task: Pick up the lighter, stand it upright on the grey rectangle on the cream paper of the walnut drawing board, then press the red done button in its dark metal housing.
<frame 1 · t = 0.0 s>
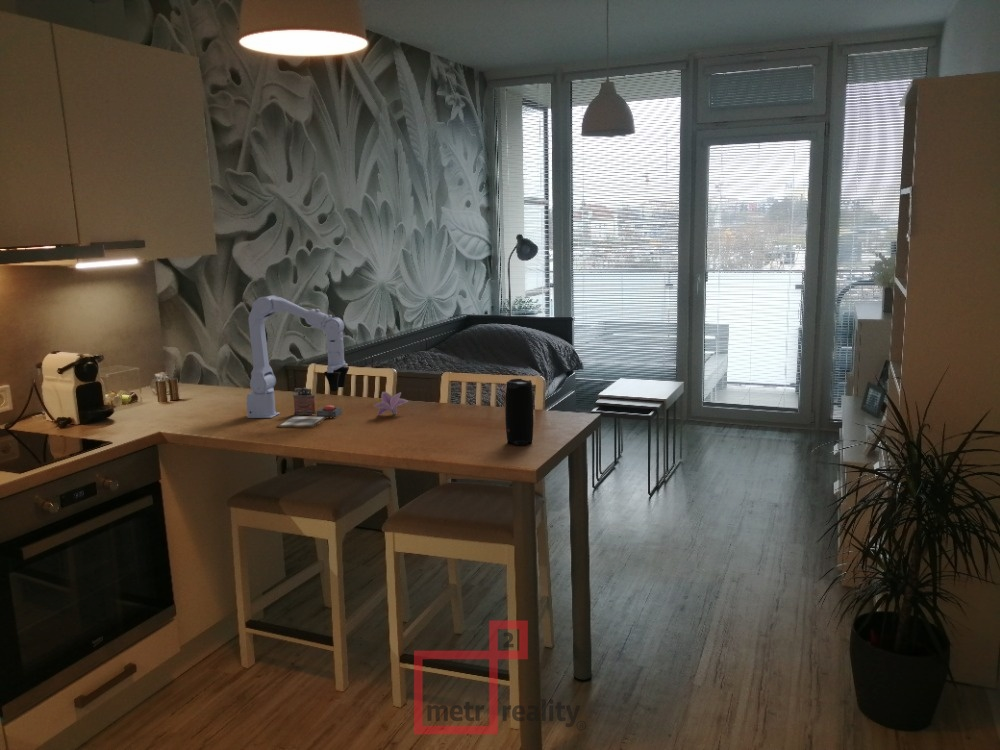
hand: (337, 389, 283), 10 cm above the worktop, tool pointing down, fingers open, 7 cm apart
button housing: (329, 415, 286), on the worktop
done button: (329, 408, 286), point 3 cm above the worktop, slide at 0.0 cm
lighter: (305, 415, 290), on the worktop
portable speaker: (519, 443, 243), on the worktop
lily: (391, 417, 284), on the worktop
drawing board: (302, 422, 276), on the worktop
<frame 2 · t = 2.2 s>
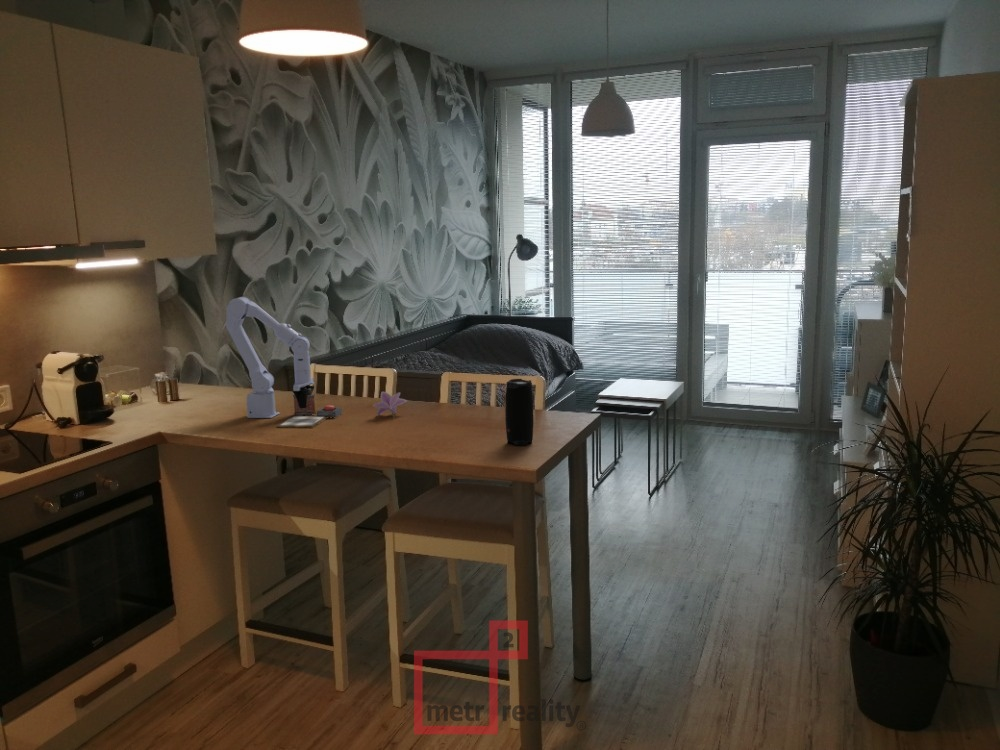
hand: (304, 406, 289), 3 cm above the worktop, tool pointing down, fingers closed on lighter, 3 cm apart
lighter: (305, 415, 290), on the worktop, touching gripper
when the fingers open (10 cm above the worktop, at t = 3.8 s): lighter drops 2 cm, resting on drawing board.
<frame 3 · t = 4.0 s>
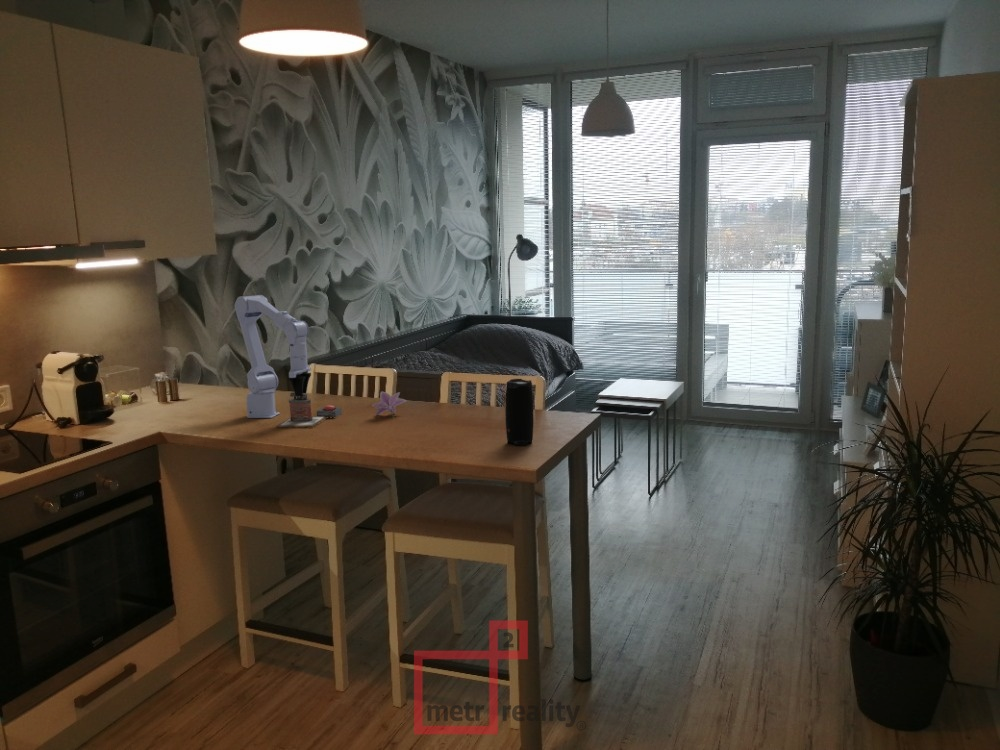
hand: (301, 394, 275), 10 cm above the worktop, tool pointing down, fingers open, 3 cm apart
lighter: (301, 420, 276), point 1 cm above the worktop, touching drawing board, gripper
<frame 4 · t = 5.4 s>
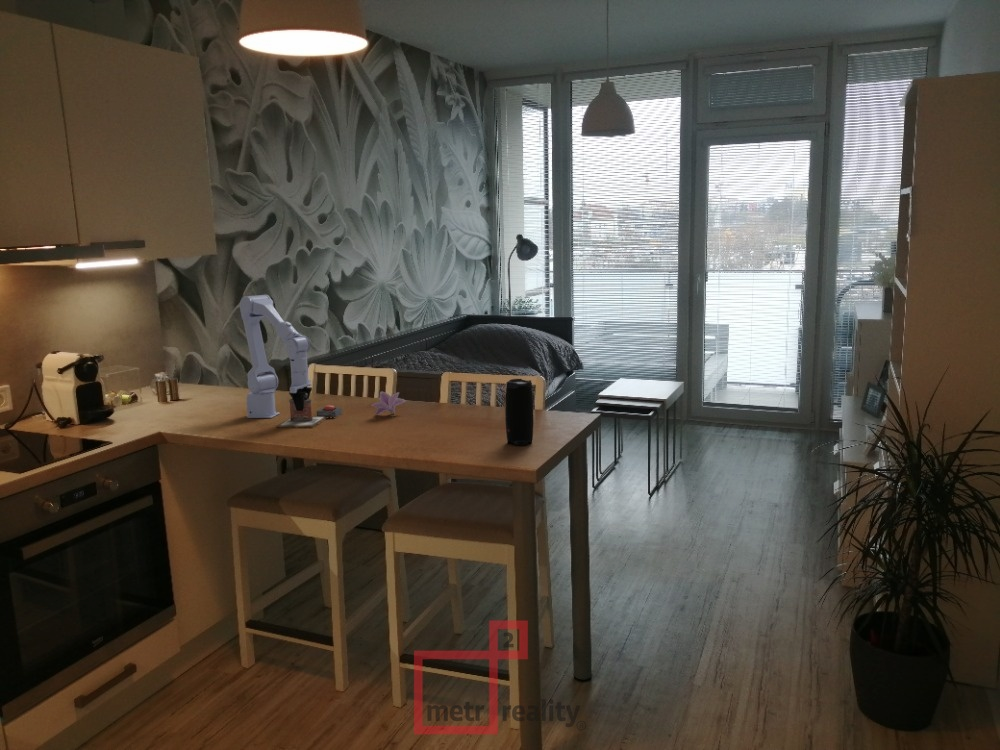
hand: (301, 409, 276), 5 cm above the worktop, tool pointing down, fingers closed on lighter, 3 cm apart
lighter: (301, 420, 276), point 1 cm above the worktop, touching drawing board, gripper
everything else where it was.
when the fingers open (5 cm above the worktop, at t = 5.7 s): lighter stays where it is, resting on drawing board.
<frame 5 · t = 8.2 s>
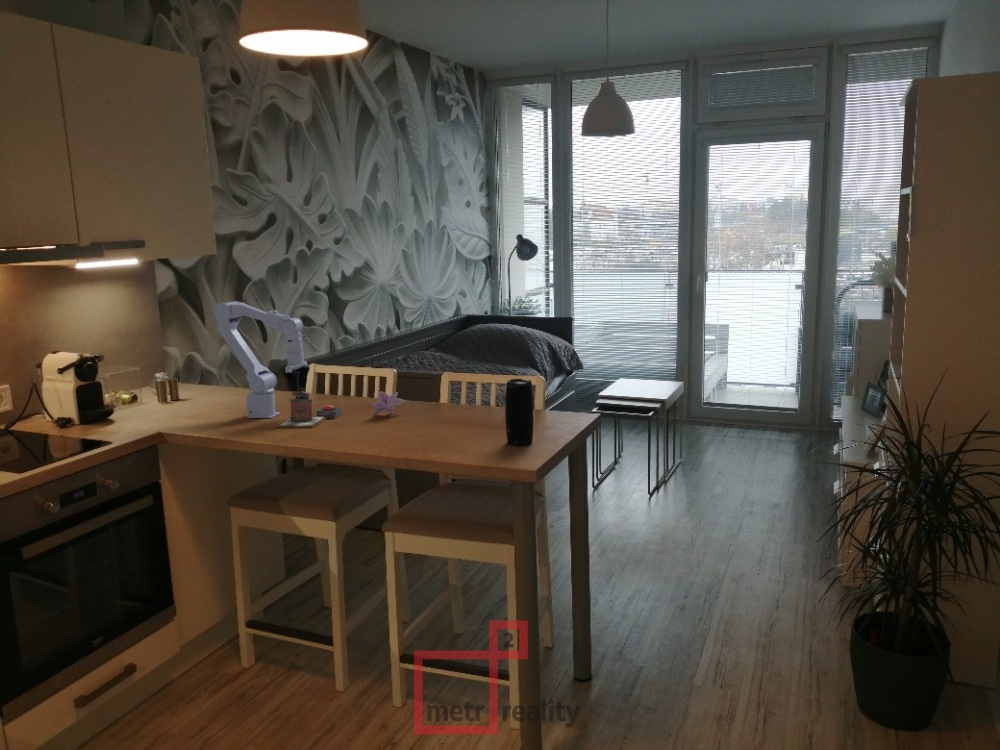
hand: (298, 389, 283), 10 cm above the worktop, tool pointing down, fingers open, 7 cm apart
lighter: (301, 420, 276), point 1 cm above the worktop, touching drawing board
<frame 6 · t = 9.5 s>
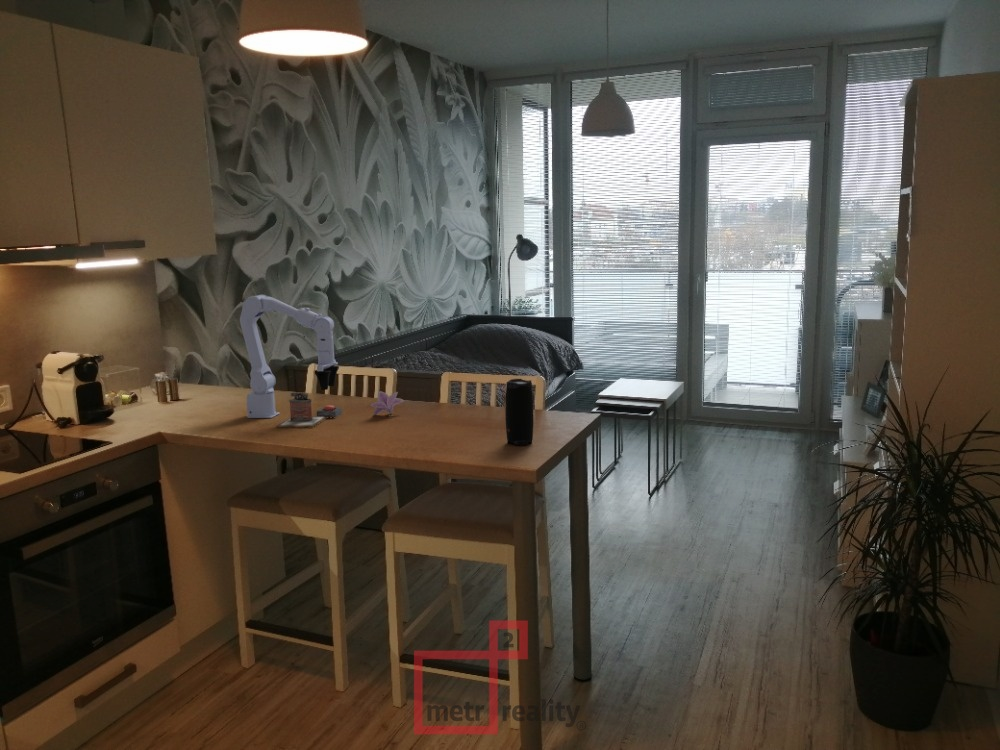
hand: (327, 387, 285), 10 cm above the worktop, tool pointing down, fingers open, 6 cm apart
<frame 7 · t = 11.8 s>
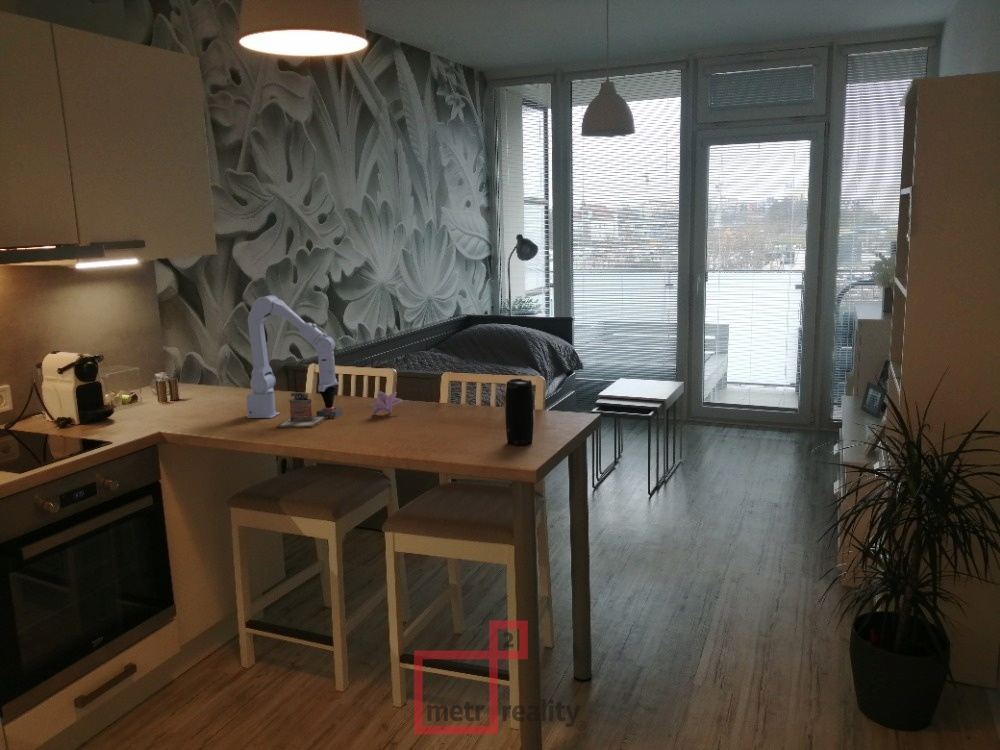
hand: (329, 407, 286), 3 cm above the worktop, tool pointing down, fingers closed, pressing on done button
done button: (329, 409, 286), point 2 cm above the worktop, slide at 0.4 cm, touching gripper
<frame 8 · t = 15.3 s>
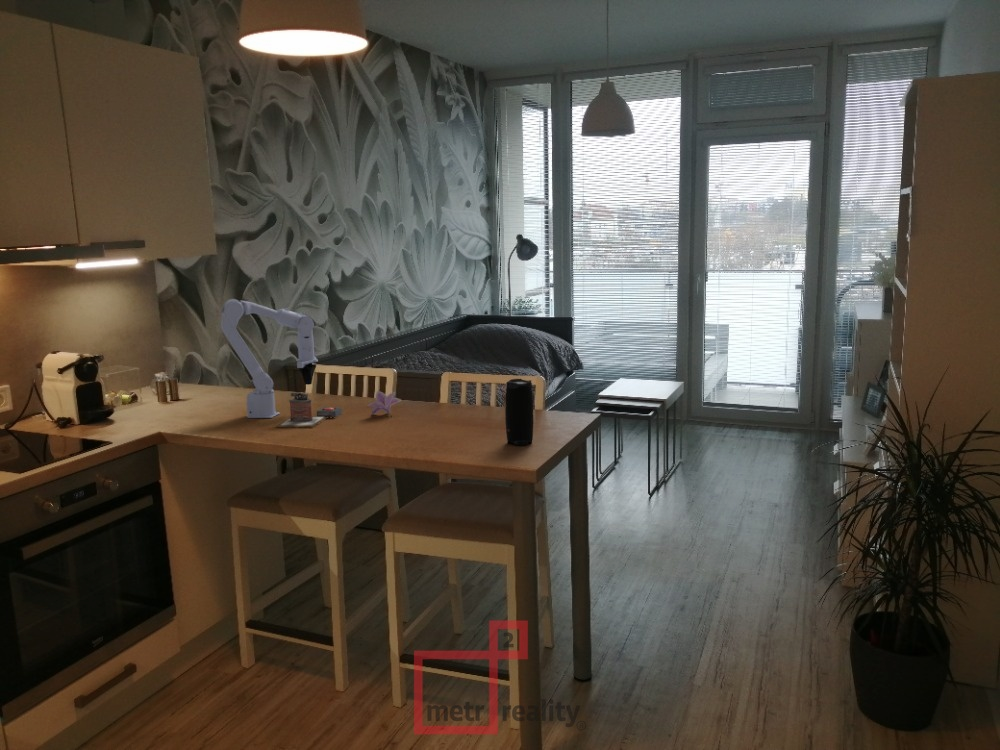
hand: (308, 384, 293), 10 cm above the worktop, tool pointing down, fingers closed
done button: (329, 410, 286), point 2 cm above the worktop, slide at 0.8 cm
at the end: lighter 0.4 cm off-centre on the drawing board, point 0.6 cm above the drawing board's base; lighter tilted 0°; done button slide at 0.8 cm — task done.
